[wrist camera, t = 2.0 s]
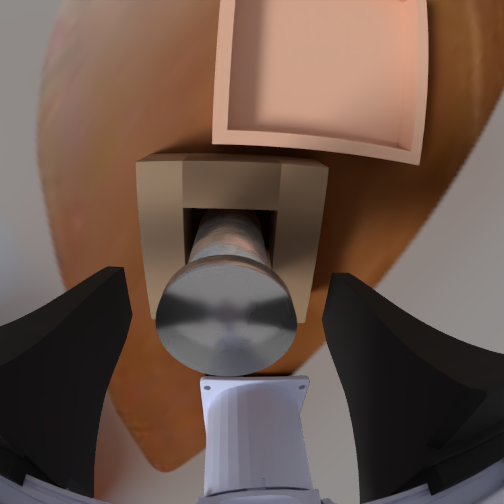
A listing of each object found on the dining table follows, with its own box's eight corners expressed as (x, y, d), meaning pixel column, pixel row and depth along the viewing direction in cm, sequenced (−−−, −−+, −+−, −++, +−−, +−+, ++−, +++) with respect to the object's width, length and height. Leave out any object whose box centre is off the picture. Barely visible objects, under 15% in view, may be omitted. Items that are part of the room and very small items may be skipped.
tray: (399, 158, 14) (419, 165, 12) (215, 140, 14) (211, 144, 12) (406, 0, 10) (425, -9, 8) (227, -34, 9) (226, -52, 8)
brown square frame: (296, 296, 18) (304, 322, 15) (161, 292, 17) (151, 319, 15) (314, 158, 14) (328, 167, 12) (151, 153, 14) (135, 161, 11)
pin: (267, 267, 17) (287, 375, 10) (191, 265, 16) (165, 372, 9) (273, 192, 15) (306, 269, 8) (189, 190, 15) (147, 265, 8)
